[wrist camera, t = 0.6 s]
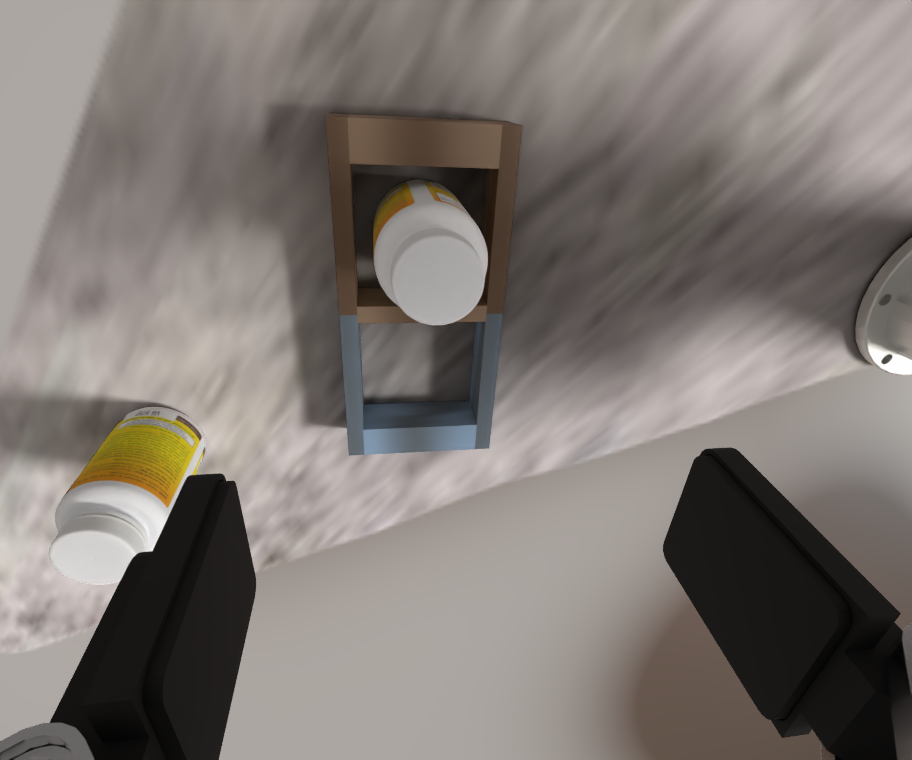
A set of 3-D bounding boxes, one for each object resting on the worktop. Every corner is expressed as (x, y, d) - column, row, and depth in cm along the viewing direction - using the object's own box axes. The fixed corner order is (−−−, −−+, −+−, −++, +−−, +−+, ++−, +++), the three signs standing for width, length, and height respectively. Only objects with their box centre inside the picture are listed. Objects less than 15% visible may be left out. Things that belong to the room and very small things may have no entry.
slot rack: (508, 121, 28) (522, 125, 25) (480, 423, 37) (489, 448, 35) (329, 113, 26) (325, 116, 24) (350, 428, 36) (348, 455, 33)
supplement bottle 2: (379, 276, 31) (383, 348, 23) (366, 182, 28) (364, 224, 20) (467, 267, 31) (502, 334, 23) (462, 173, 29) (500, 211, 20)
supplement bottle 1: (108, 401, 32) (12, 520, 24) (202, 403, 33) (143, 517, 25) (126, 470, 35) (46, 599, 26) (213, 469, 36) (162, 593, 27)
